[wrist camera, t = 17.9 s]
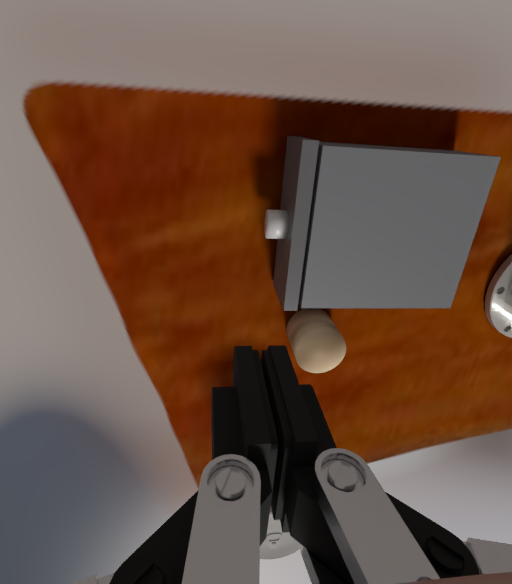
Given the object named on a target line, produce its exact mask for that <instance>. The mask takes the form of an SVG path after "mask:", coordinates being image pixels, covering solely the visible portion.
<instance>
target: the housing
mask: <svg viewBox="0 0 512 584" xmlns="http://www.w3.org/2000/svg"><path fill="white" fill-rule="evenodd" d="M317 157H318V163H317V171H316V178H315V186H314V194H313V201H312V209H311V216H310V224H309V232H308V239H307V247H306V254H305V262H304V270H303V277H302V282H301V286H300V293H299V301H298V303H299V305H300V307H301V308H451V305H452V302H453V299H454V296H455V293H456V290H457V287H458V284H459V281H460V278H461V275H462V272H463V269H464V266H465V263H466V260H467V257H468V254H469V251H470V248H471V245H472V242H473V239H474V236H475V233H476V230H477V227H478V224H479V221H480V218H481V215H482V212H483V209H484V206H485V203H486V200H487V197H488V194H489V191H490V188H491V185H492V182H493V179H494V176H495V173H496V170H497V167H498V164H499V161H500V158H501V157H496V156H489V155H482V154H475V153H468V152H461V151H454V150H439V149H424V148H409V147H393V146H378V145H363V144H348V143H333V142H319V147H318V155H317Z"/></svg>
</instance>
